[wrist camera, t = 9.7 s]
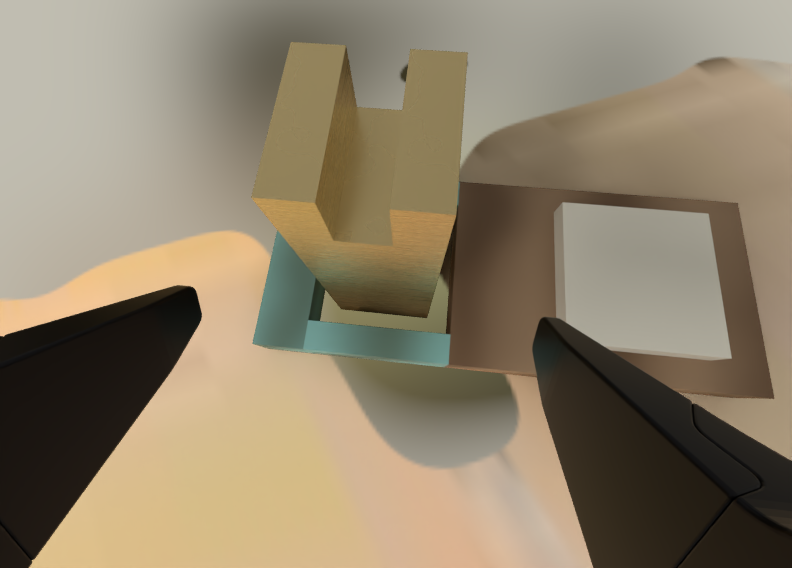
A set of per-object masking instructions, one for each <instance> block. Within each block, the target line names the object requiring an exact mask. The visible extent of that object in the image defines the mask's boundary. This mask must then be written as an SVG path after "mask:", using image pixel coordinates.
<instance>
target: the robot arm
mask: <svg viewBox="0 0 792 568" xmlns="http://www.w3.org/2000/svg"><path fill="white" fill-rule="evenodd" d="M201 318H202V313H201V309H200V305H199V301H198V297H197V293H196V290H195V289H194V288H193V287H191V286H181V285H177V286H173V287H169V288H166V289H162V290H159V291H155V292H152V293H148V294H145V295H141V296H138V297H134V298H131V299H128V300H124V301H121V302H117V303H114V304H110V305H107V306H103V307H100V308H96V309H93V310H89V311H86V312H83V313H79V314H76V315H72V316H69V317H65V318H62V319H58V320H55V321H51V322H48V323H45V324H41V325H38V326H34V327H31V328H27V329H24V330H20V331H17V332H13V333H10V334H7V335H5V336H4V337H3V336H0V568H29V567H30V565H31V564H32V560H34V559H35V558H36V556H37V555H38V554H39V552H40V551H41V550H42V548H43V547H44V546H45V544H46V543H47V541H48V540H49V539H50V537H51V536H52V535H53V533H54V532H55V530H56V529H57V528H58V526H59V525H60V524H61V522H62V521H63V519H64V518H65V517H66V515H67V514H68V513H69V511H70V510H71V508H72V507H73V506H74V504H75V503H76V502H77V500H78V499H79V497H80V496H81V495H82V493H83V492H84V491H85V489H86V488H87V486H88V485H89V484H90V482H91V481H92V480H93V478H94V477H95V475H96V474H97V473H98V471H99V470H100V469H101V467H102V466H103V464H104V463H105V462H106V460H107V459H108V458H109V456H110V455H111V454H112V452H113V451H114V449H115V448H116V447H117V445H118V444H119V443H120V441H121V440H122V438H123V437H124V436H125V434H126V433H127V432H128V430H129V429H130V427H131V426H132V425H133V423H134V422H135V421H136V419H137V418H138V416H139V415H140V414H141V412H142V411H143V410H144V408H145V407H146V405H147V404H148V403H149V401H150V400H151V399H152V397H153V396H154V394H155V393H156V392H157V390H158V389H159V388H160V386H161V385H162V383H163V382H164V381H165V379H166V378H167V377H168V375H169V374H170V372H171V371H172V369H173V368H174V366H175V365H176V363H177V361H178V360H179V358H180V356H181V355H182V353H183V351H184V349H185V348H186V346H187V344H188V343H189V341H190V339H191V337H192V336H193V334H194V332H195V330H196V329H197V327H198V325H199V324H200V321H201ZM532 353H533V358H534V364H535V369H536V374H537V380H538V385H539V391H540V396H541V401H542V405H543V409H544V412H545V416H546V419H547V422H548V425H549V428H550V432H551V435H552V438H553V441H554V444H555V447H556V451H557V454H558V457H559V460H560V463H561V466H562V470H563V473H564V476H565V479H566V482H567V486H568V489H569V492H570V495H571V498H572V501H573V505H574V508H575V511H576V514H577V517H578V520H579V524H580V527H581V530H582V533H583V536H584V539H585V543H586V546H587V549H588V552H589V555H590V558H591V562H592V565H593V568H792V461H791V460H789V459H787V458H786V457H784V456H782V455H780V454H779V453H777V452H775V451H773V450H772V449H770V448H768V447H767V446H765V445H763V444H761V443H760V442H758V441H756V440H754V439H753V438H751V437H749V436H748V435H746V434H744V433H742V432H741V431H739V430H738V429H736V428H734V427H733V426H731V425H729V424H728V423H726V422H724V421H723V420H721V419H719V418H718V417H716V416H715V415H713V414H711V413H710V412H708V411H707V410H705V409H703V408H702V407H700V406H699V405H697V404H695V403H694V404H692V402H691V401H690V400H689V399H687V398H686V397H684V396H683V395H681V394H679V393H678V392H676V391H675V390H673V389H671V388H670V387H668V386H667V385H665V384H663V383H662V382H660V381H659V380H657V379H655V378H654V377H652V376H651V375H649V374H647V373H646V372H644V371H643V370H641V369H639V368H638V367H636V366H635V365H633V364H631V363H630V362H628V361H627V360H625V359H623V358H622V357H620V356H619V355H617V354H615V353H614V352H612V351H611V350H609V349H607V348H606V347H604V346H603V345H601V344H600V343H598V342H596V341H595V340H593V339H592V338H590V337H588V336H587V335H585V334H584V333H582V332H580V331H579V330H577V329H576V328H574V327H572V326H571V325H569V324H568V323H566V322H564V321H563V320H561V319H559V318H554V317H542V318H541V319H540V321H539V323H538V327H537V330H536V334H535V337H534V341H533V345H532Z"/></svg>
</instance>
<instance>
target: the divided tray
mask: <svg viewBox="0 0 792 568" xmlns="http://www.w3.org/2000/svg"><path fill="white" fill-rule="evenodd" d="M324 293H325V288H324V287H323V286H322V285H321V283H320V282H319V281H318V280H317V278H316V277H315V276H314V275H313V273H312V272H311V271H310V270H309V268H308V267H307V266H306V265H305V264H304V262H303V261H302V260H301V259H300V257H299V256H298V255H297V254H296V252H295V251H294V250H293V249H292V247H291V246H290V245H289V244H288V242H287V241H286V240H285V239H284V237H283V236H282V235H281V234H280V233H279V231H278V230H277V234H276V238H275V243H274V247H273V252H272V257H271V261H270V266H269V270H268V275H267V279H266V284H265V289H264V293H263V298H262V302H261V307H260V311H259V316H258V321H257V325H256V330H255V334H254V339H253V343H252V344H255V345H258V346H262V347H265V348H269V349H277V350H286V351H296V352H305V353H315V354H324V355H334V356H344V357H352V358H363V359H371V360H381V361H391V362H400V363H409V364H419V365H429V366H437V367H448V368H456V369H466V370H475V371H485V372H494V373H504V374H513V375H522V376H532V377H537V374H536V369H535V364H534V358H533V353H532V345H533V341H534V337H535V334H536V330H537V327H538V323H539V321H540V319H541V318H542V317H554V318H559V319H561V320H563V321H564V322H566V323H568V324H569V325H571V326H572V327H574V328H576V329H577V330H579V331H580V332H582V333H584V334H585V335H587V336H588V337H590V338H592V339H593V340H595V341H596V342H598V343H600V344H601V345H603V346H604V347H606V348H607V349H609V350H611V351H612V352H614V353H615V354H617V355H619V356H620V357H622V358H623V359H625V360H627V361H628V362H630V363H631V364H633V365H635V366H636V367H638V368H639V369H641V370H643V371H644V372H646V373H647V374H649V375H651V376H652V377H654V378H655V379H657V380H659V381H660V382H662V383H663V384H665V385H667V386H668V387H670V388H671V389H673V390H675V391H676V392H683V393H692V394H702V395H711V396H721V397H730V398H767V399H774V395H773V389H772V384H771V379H770V373H769V368H768V363H767V357H766V352H765V347H764V341H763V336H762V331H761V325H760V320H759V315H758V309H757V304H756V299H755V293H754V288H753V283H752V277H751V272H750V267H749V261H748V256H747V251H746V245H745V240H744V235H743V229H742V224H741V219H740V213H739V208H738V203H729V202H716V201H703V200H690V199H677V198H663V197H650V196H637V195H624V194H611V193H598V192H584V191H571V190H558V189H545V188H532V187H519V186H505V185H492V184H479V183H466V182H459V184H458V199H457V213H456V218H455V222H454V225H453V235H452V250H451V266H450V281H449V296H448V311H447V327H446V334H442V333H431V332H422V331H411V330H402V329H392V328H381V327H371V326H362V325H352V324H342V323H332V322H322V321H320V317H321V311H322V305H323V299H324Z"/></svg>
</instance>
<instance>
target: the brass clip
mask: <svg viewBox="0 0 792 568" xmlns="http://www.w3.org/2000/svg"><path fill="white" fill-rule="evenodd" d="M467 54H468V53H467V52H450V51H433V50H416V49H410V56H409V63H408V71H407V78H406V86H405V94H404V102H403V109H402V110H391V109H376V108H362V107H357V105H356V99H355V94H354V88H353V83H352V76H351V71H350V65H349V60H348V54H347V48H346V45H331V44H314V43H297V42H291V44H290V48H289V52H288V56H287V60H286V64H285V68H284V71H283V75H282V79H281V83H280V87H279V91H278V95H277V99H276V103H275V107H274V110H273V114H272V118H271V122H270V126H269V130H268V134H267V138H266V142H265V146H264V149H263V153H262V157H261V161H260V165H259V169H258V173H257V177H256V181H255V185H254V188H253V193H252V196H251V198H252V199H253V200H254V202H255V203H256V204H257V205H258V207H260V209H261V210H262V211H263V213H264V214H265V215H266V216H267V218H268V219H269V220H270V221H271V222H272V224H273V225H274V226H275V228H276V229H277V230H278V231H279V233H280V234H281V235H282V236H283V237H284V239H285V240H286V241H287V242H288V244H289V245H290V246H291V247H292V249H293V250H294V251H295V252H296V254H297V255H298V256H299V257H300V259H301V260H302V261H303V262H304V264H305V265H306V266H307V267H308V268H309V270H310V271H311V272H312V273H313V275H314V276H315V277H316V278H317V280H318V281H319V282H320V283H321V285H322V286H323V287H324V288H325V290H326V291H327V292H328V293H329V294H330V296H331V297H332V298H333V299H334V301H335V302H336V303H337V304H338V306H339V307H340V308H341V309H345V310H354V311H364V312H374V313H383V314H393V315H402V316H412V317H422V318H427V316H428V313H429V309H430V306H431V302H432V299H433V295H434V292H435V288H436V284H437V281H438V278H439V274H440V271H441V267H442V264H443V260H444V257H445V253H446V250H447V246H448V243H449V239H450V236H451V232H452V229H453V225H454V222H455V218H456V213H457V199H458V184H459V170H460V154H461V141H462V126H463V112H464V97H465V83H466V69H467Z"/></svg>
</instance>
